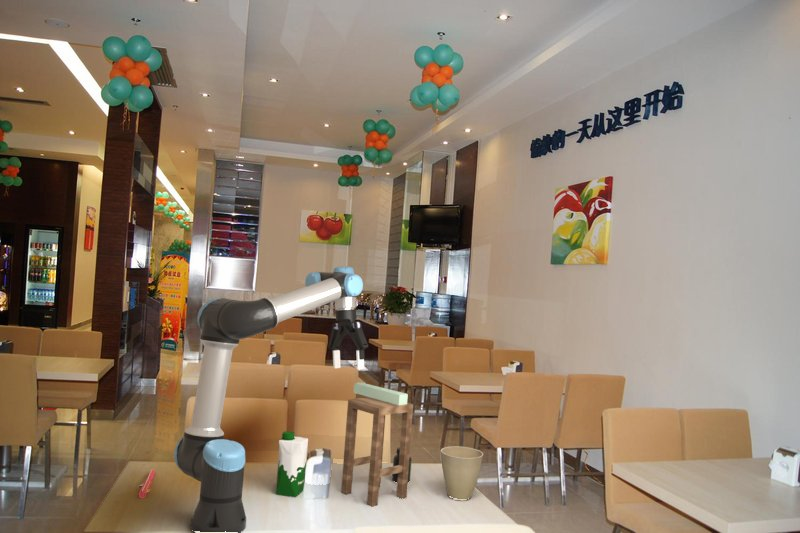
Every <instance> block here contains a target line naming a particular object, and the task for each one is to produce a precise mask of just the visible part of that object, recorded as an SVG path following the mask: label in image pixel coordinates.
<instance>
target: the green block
mask: <svg viewBox="0 0 800 533" xmlns="http://www.w3.org/2000/svg"><path fill="white" fill-rule="evenodd" d="M353 384H354V385H353V394H357V395H360V396H363V397H366V398H367V397H371V398H374V399H378V400H382V401H385V402H389V403H393V404H396V405H404V404H407V403H408V400H409V399H408V398H409V396H408V393H406V392H401V391H397V390H394V389H393V390H392V389H390V388H386V387H381V386H377V385H373V384H368V383H365V382H356V383H353Z"/></svg>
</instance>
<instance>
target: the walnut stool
mask: <svg viewBox="0 0 800 533" xmlns="http://www.w3.org/2000/svg"><path fill="white" fill-rule="evenodd" d="M358 411H361V412H364V413H368V414H370V415H373V416H372V417H373V420H372V428H371V429H372V431H371V444H370V455H368V456H362V457H357V458H355V448H356V435H357V424H358V423H357V422H358ZM413 411H414V404H413V403H410V402H407V404H404V405H396V404H393V403H389V402H385V401H382V400H378V399H374V398H371V397H367V396H366V397H359V398H348V400H347V409H346V412H347V413H346V426H345V434H344V435H345V437H344V440H345V441H344V447H343V448H344V451H343V463H342V464H343V466H342V477H341V479H342V480H341V491H340V493H341V494H343V495H350V494H352V490H353V478H354V477H353V476H354V467H357V466H362V465H367V464H369V470H368V482H367V483H368V485H367V499H366V505H367V506H369V507H371V508H372V507H375V506H378V504H379V491H380V490H379V488H380V487H381V482H382V477H386V476H391V475H392V474H396V473H398V481H397V483H396V496H397V497H396V498H398V497H399V498H398V499H400V498H401V500H403V499H406V498H405V497H407V496H408V495H407V494H408V484H409V483H408V471H409V457H411V454H410V453H411V439H412V427H413V426H412V424H413V414H414V413H413ZM395 414H402V416H401V426H400V428H401V429H400V439H399V441H400V442H399V447H400V453H399V465H397V466H393V465H392V466H388V467H384V468H382V466H383V454H384V453H383V452H384V439H385V425H386V416H389V415H395ZM379 486H380V487H379ZM402 498H403V499H402Z"/></svg>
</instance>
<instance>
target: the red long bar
mask: <svg viewBox="0 0 800 533" xmlns="http://www.w3.org/2000/svg"><path fill="white" fill-rule="evenodd" d="M155 474H156V471H155V469H151V470H150V471H149V474H148V476H147V478H146V480H145V481H143V483H142V484H139V486H142V487H140V490H139V493H138V496H139V498H140V499H144V498H146V497H147V494H148V493H149V492H151V489H150V487H151V486H152V481H153V479H154V477H155Z"/></svg>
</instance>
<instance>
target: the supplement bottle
mask: <svg viewBox="0 0 800 533" xmlns="http://www.w3.org/2000/svg"><path fill="white" fill-rule="evenodd" d="M399 453H400V446H399V447H397V448H396V454H395V455H394V456H393V459H392V466H397V465H399ZM412 461H413V459H412V457H411V456H410V457H409V471H408V482H409V481H410V482H411V476H412V475H411V474H412V463H413V462H412ZM391 475H392V477H391V480H392V482H393V481H395V482H397V481H398V473H396V474H391ZM395 482H394V483H395ZM410 482H409V483H410Z"/></svg>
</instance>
